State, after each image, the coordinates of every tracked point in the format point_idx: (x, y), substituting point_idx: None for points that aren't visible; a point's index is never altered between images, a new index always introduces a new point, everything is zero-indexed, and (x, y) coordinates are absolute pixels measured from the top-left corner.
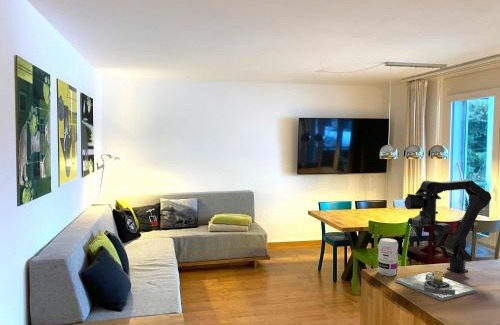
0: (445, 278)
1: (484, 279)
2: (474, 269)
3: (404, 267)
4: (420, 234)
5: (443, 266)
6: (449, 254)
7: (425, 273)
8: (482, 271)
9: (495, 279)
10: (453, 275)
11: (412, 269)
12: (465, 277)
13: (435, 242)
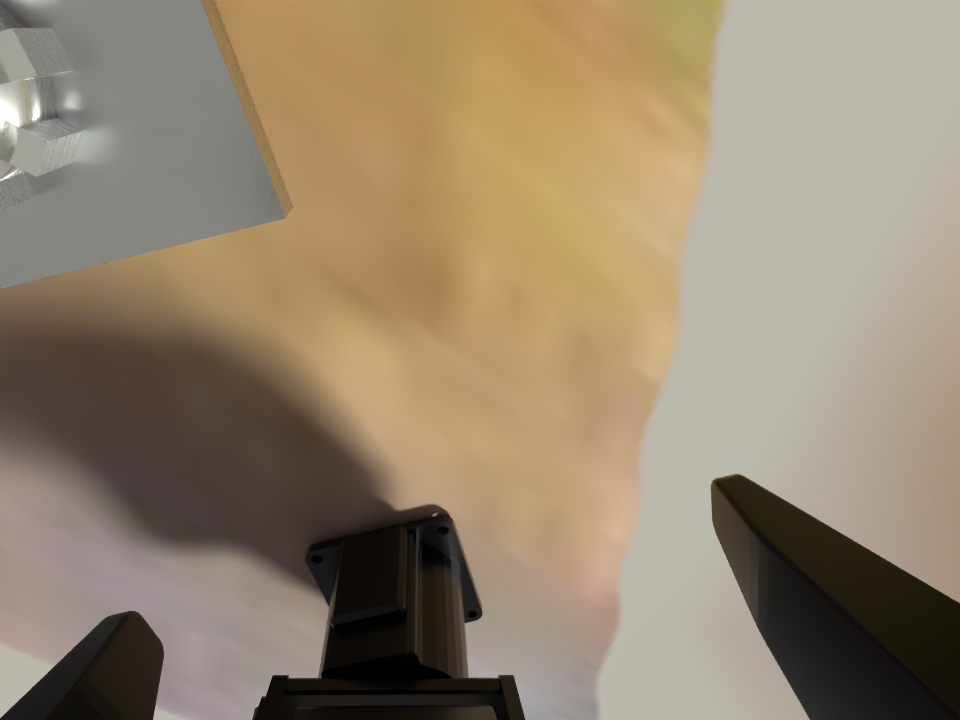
0: (6, 271)
1: None
2: None
3: (664, 57)
4: (834, 711)
5: (540, 533)
6: (480, 684)
7: (227, 123)
8: None
9: None
10: (253, 465)
11: (549, 124)
12: (185, 531)
13: (62, 692)
